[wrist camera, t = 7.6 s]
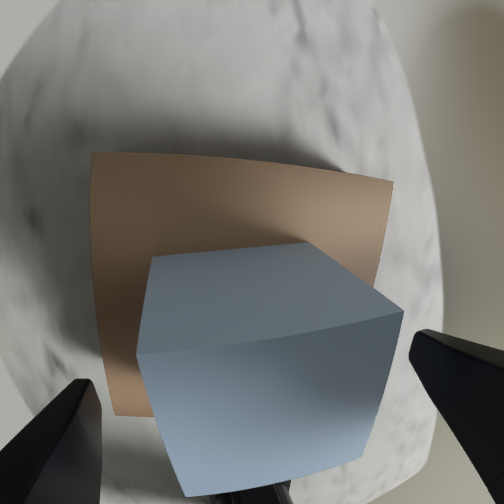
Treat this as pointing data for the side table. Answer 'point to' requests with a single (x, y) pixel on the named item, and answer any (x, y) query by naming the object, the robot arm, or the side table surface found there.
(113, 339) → the walnut base
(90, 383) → the robot arm
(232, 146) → the side table surface
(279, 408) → the blue cube
